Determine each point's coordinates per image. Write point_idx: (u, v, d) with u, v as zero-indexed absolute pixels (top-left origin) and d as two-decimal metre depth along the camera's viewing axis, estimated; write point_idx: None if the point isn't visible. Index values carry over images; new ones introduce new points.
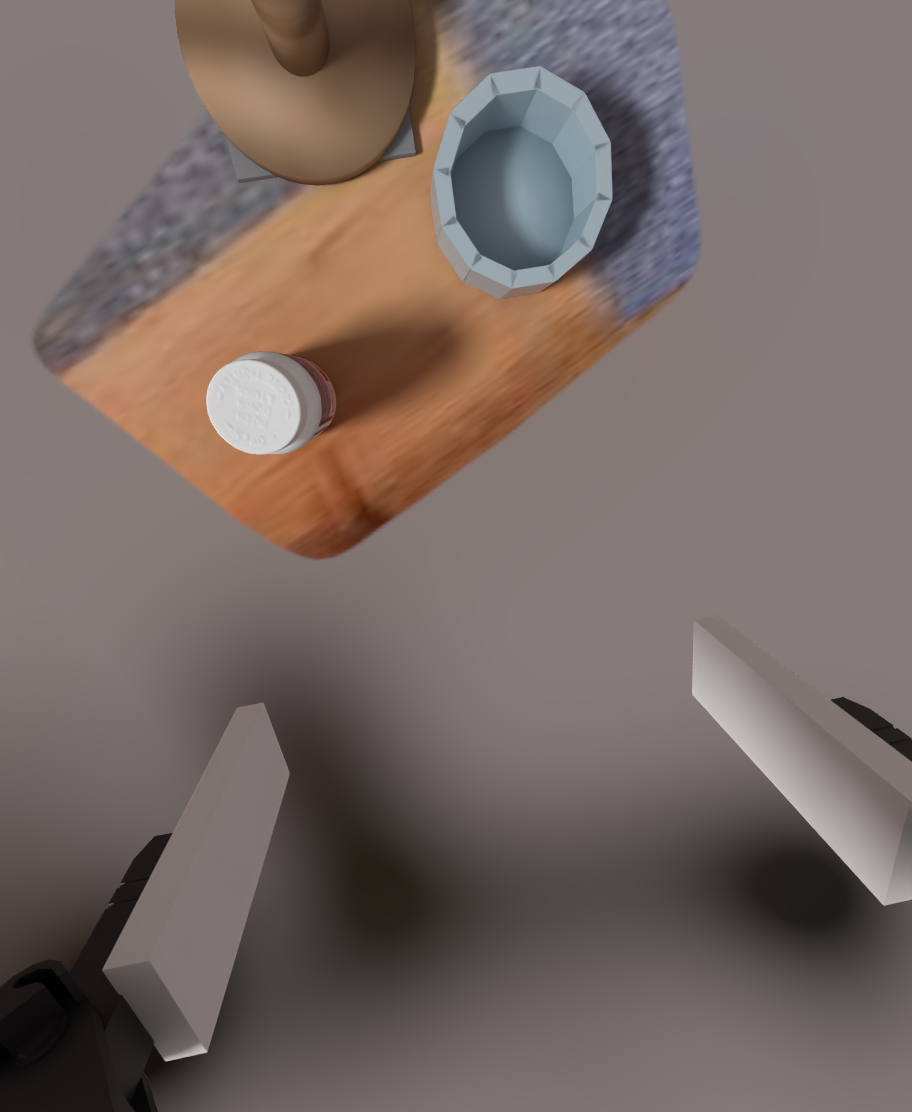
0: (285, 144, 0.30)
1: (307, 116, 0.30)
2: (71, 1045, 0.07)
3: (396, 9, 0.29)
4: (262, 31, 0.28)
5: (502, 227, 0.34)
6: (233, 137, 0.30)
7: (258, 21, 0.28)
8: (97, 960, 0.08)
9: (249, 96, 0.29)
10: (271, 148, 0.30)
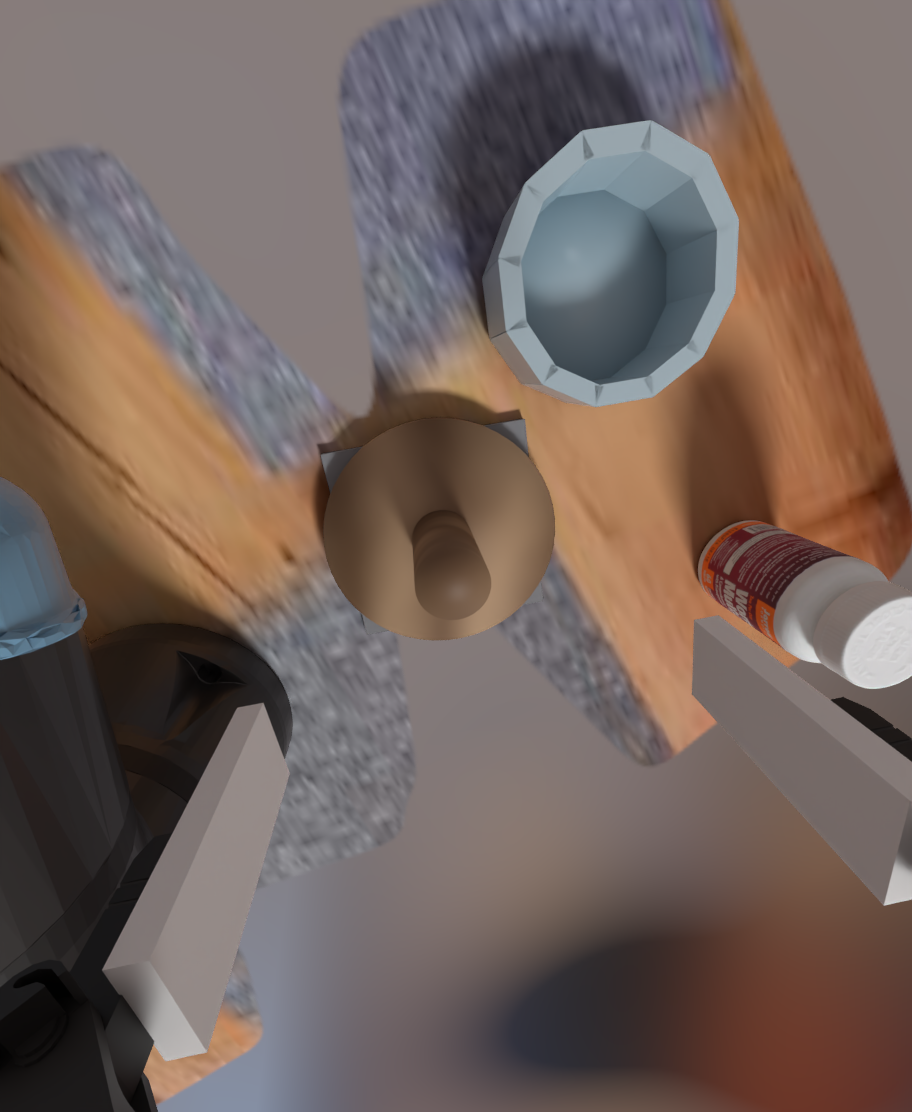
0: (525, 557, 0.30)
1: (502, 535, 0.29)
2: (71, 1045, 0.07)
3: (412, 438, 0.27)
4: None
5: (605, 303, 0.26)
6: (519, 603, 0.31)
7: None
8: (98, 960, 0.08)
9: None
10: (528, 571, 0.30)
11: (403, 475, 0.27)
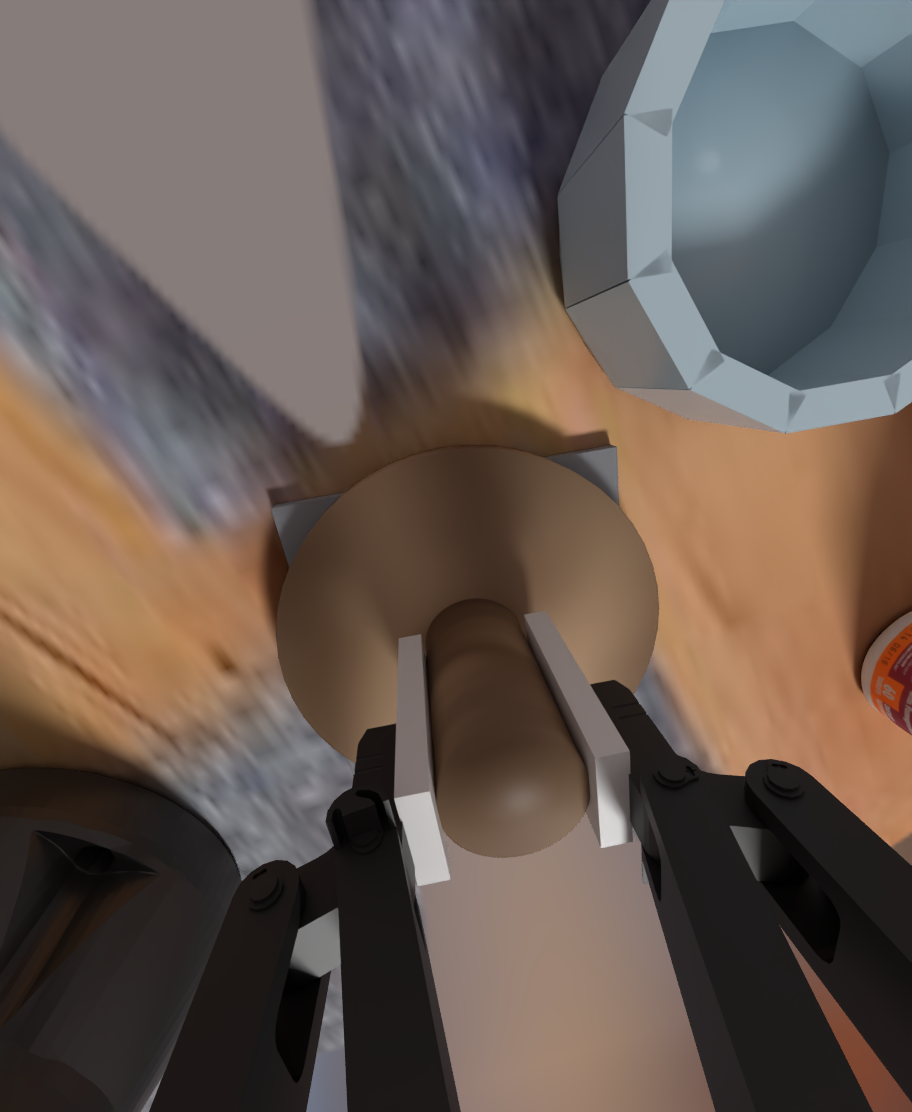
0: (607, 668, 0.18)
1: (573, 635, 0.18)
2: (385, 855, 0.09)
3: (427, 483, 0.15)
4: None
5: (772, 244, 0.15)
6: None
7: None
8: None
9: None
10: None
11: (411, 544, 0.16)
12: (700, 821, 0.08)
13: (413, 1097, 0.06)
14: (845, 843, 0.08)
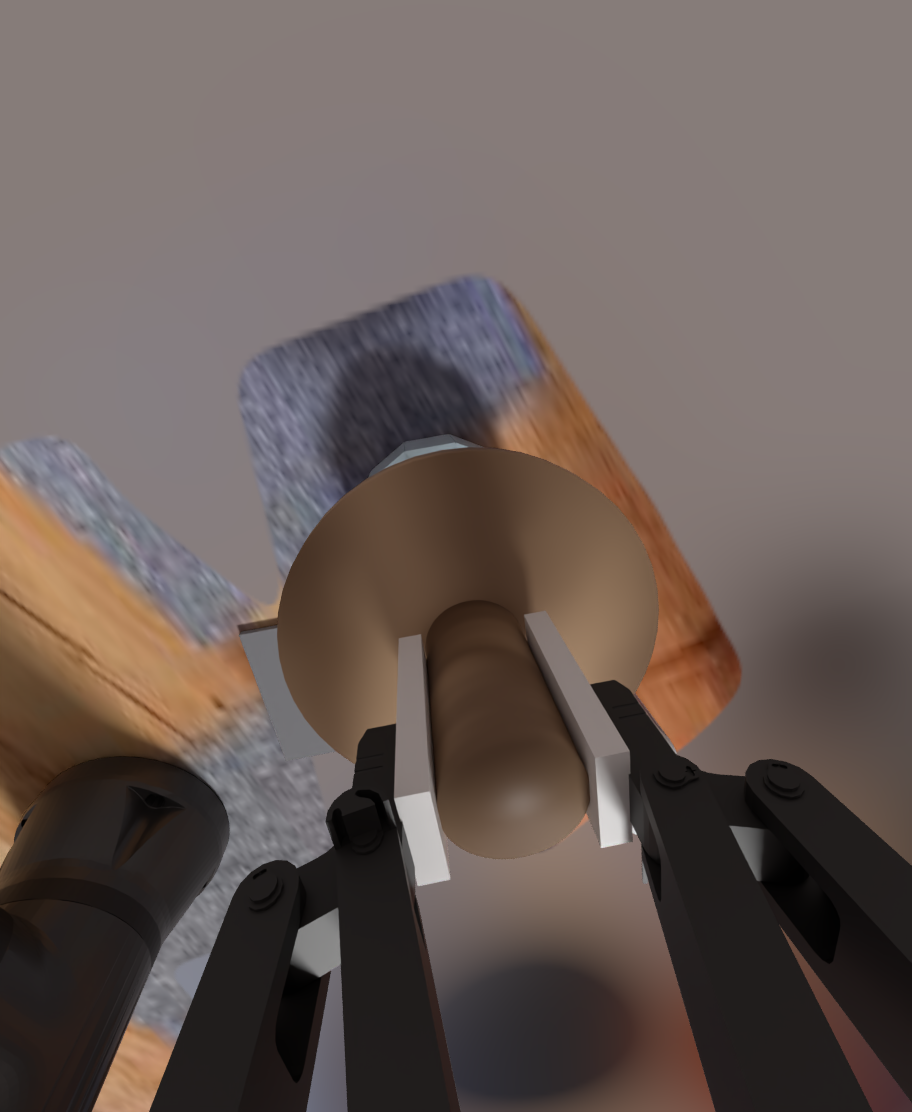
0: (607, 669, 0.18)
1: (573, 637, 0.18)
2: (385, 855, 0.09)
3: (428, 485, 0.15)
4: None
5: None
6: None
7: None
8: None
9: None
10: None
11: (411, 546, 0.16)
12: (700, 821, 0.08)
13: (414, 1098, 0.06)
14: (845, 843, 0.08)
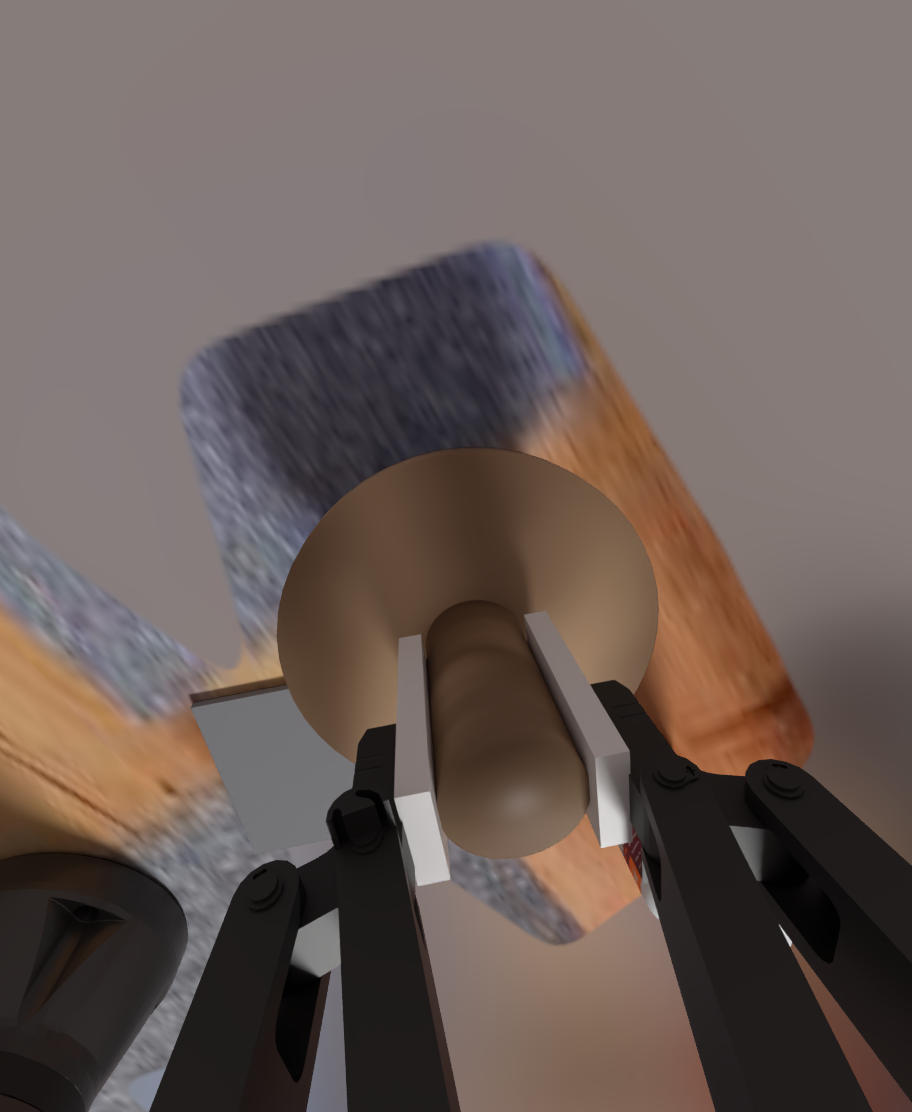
0: (607, 669, 0.18)
1: (573, 636, 0.18)
2: (385, 855, 0.09)
3: (427, 485, 0.15)
4: None
5: None
6: None
7: None
8: None
9: None
10: None
11: (411, 546, 0.16)
12: (700, 821, 0.08)
13: (414, 1098, 0.06)
14: (845, 843, 0.08)
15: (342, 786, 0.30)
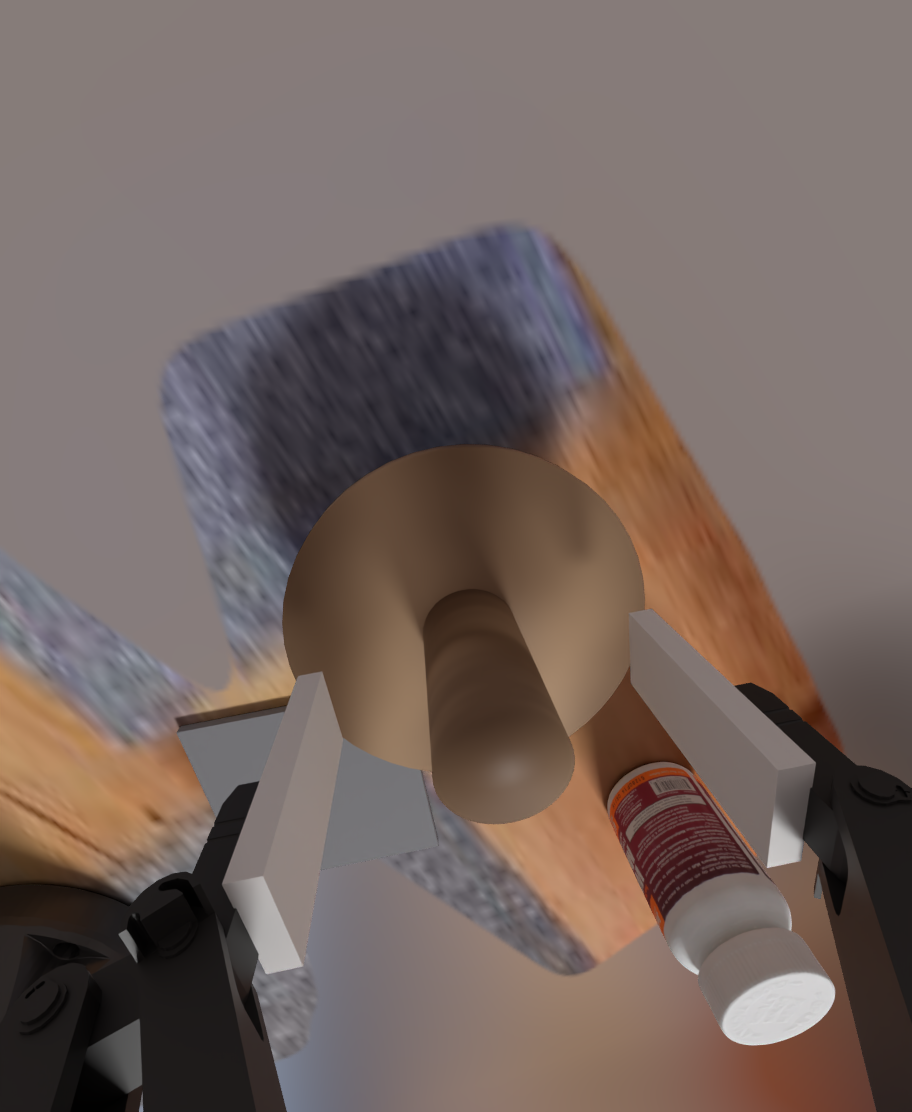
0: (596, 656, 0.19)
1: (563, 624, 0.19)
2: (201, 948, 0.08)
3: (425, 480, 0.16)
4: None
5: None
6: (582, 719, 0.20)
7: None
8: (208, 882, 0.09)
9: None
10: (599, 674, 0.20)
11: (409, 537, 0.17)
12: (909, 844, 0.08)
13: None
14: None
15: (340, 814, 0.28)
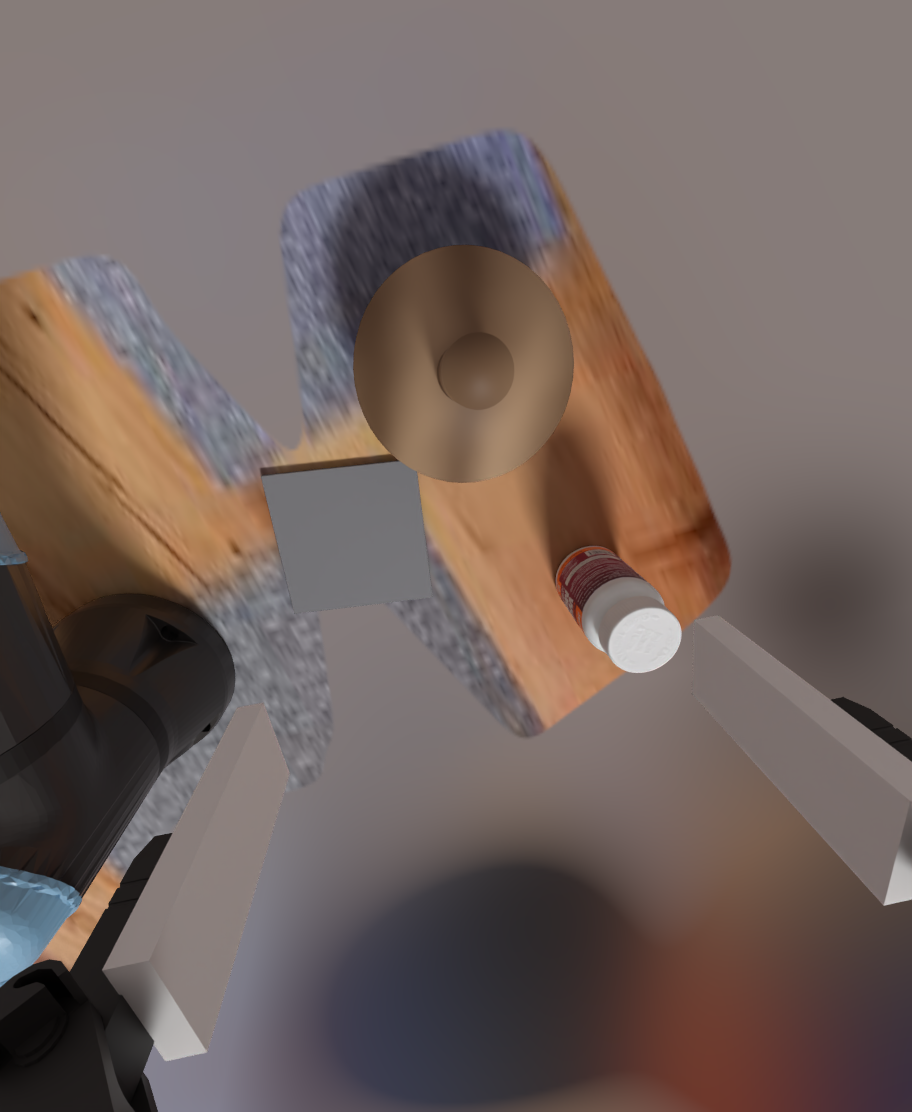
0: (542, 402, 0.31)
1: (523, 375, 0.30)
2: (71, 1045, 0.07)
3: (445, 263, 0.28)
4: (460, 407, 0.31)
5: None
6: (533, 450, 0.32)
7: (453, 410, 0.31)
8: (97, 960, 0.08)
9: (505, 429, 0.32)
10: (544, 416, 0.31)
11: (433, 301, 0.29)
12: None
13: None
14: None
15: (365, 559, 0.40)
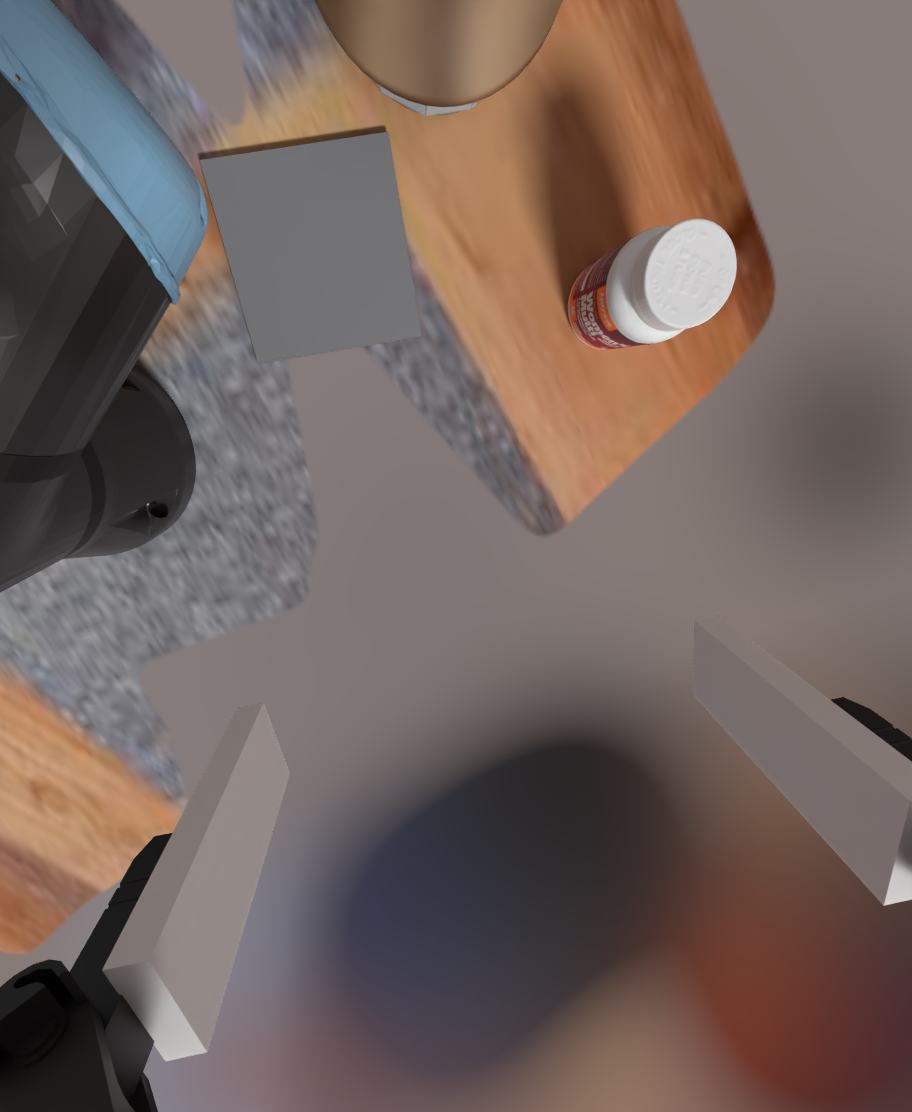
0: None
1: None
2: (71, 1045, 0.07)
3: None
4: None
5: None
6: (532, 44, 0.25)
7: None
8: (97, 960, 0.08)
9: (495, 9, 0.25)
10: None
11: None
12: None
13: None
14: None
15: (337, 282, 0.33)
